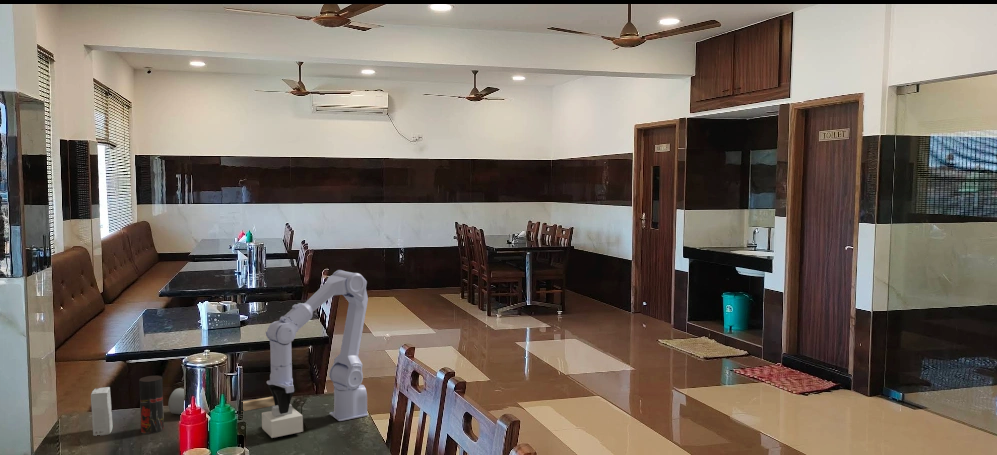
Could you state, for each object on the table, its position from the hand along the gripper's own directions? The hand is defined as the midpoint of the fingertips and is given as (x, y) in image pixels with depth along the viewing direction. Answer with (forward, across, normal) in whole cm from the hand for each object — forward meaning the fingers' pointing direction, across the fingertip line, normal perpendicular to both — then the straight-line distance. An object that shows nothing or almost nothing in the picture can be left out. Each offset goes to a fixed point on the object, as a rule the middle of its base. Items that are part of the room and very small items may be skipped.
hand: (282, 411), depth 209 cm
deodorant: (+7, -23, -30) cm, 38 cm away
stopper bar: (+6, -26, 0) cm, 27 cm away
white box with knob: (+5, 0, 0) cm, 5 cm away
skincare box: (+7, -29, -42) cm, 52 cm away
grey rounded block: (+7, -33, -18) cm, 38 cm away
